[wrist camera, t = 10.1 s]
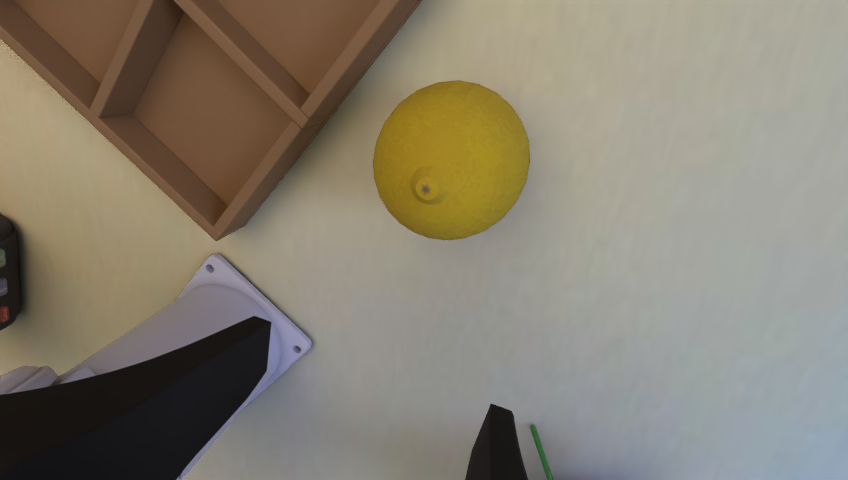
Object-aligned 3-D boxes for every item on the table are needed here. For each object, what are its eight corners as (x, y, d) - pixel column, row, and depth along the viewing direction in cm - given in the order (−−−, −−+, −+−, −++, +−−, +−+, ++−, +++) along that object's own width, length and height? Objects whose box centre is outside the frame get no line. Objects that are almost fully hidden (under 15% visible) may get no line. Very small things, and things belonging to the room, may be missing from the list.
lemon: (420, 66, 19) (344, 71, 12) (547, 89, 18) (548, 109, 11) (403, 186, 21) (332, 251, 14) (516, 212, 20) (499, 295, 13)
